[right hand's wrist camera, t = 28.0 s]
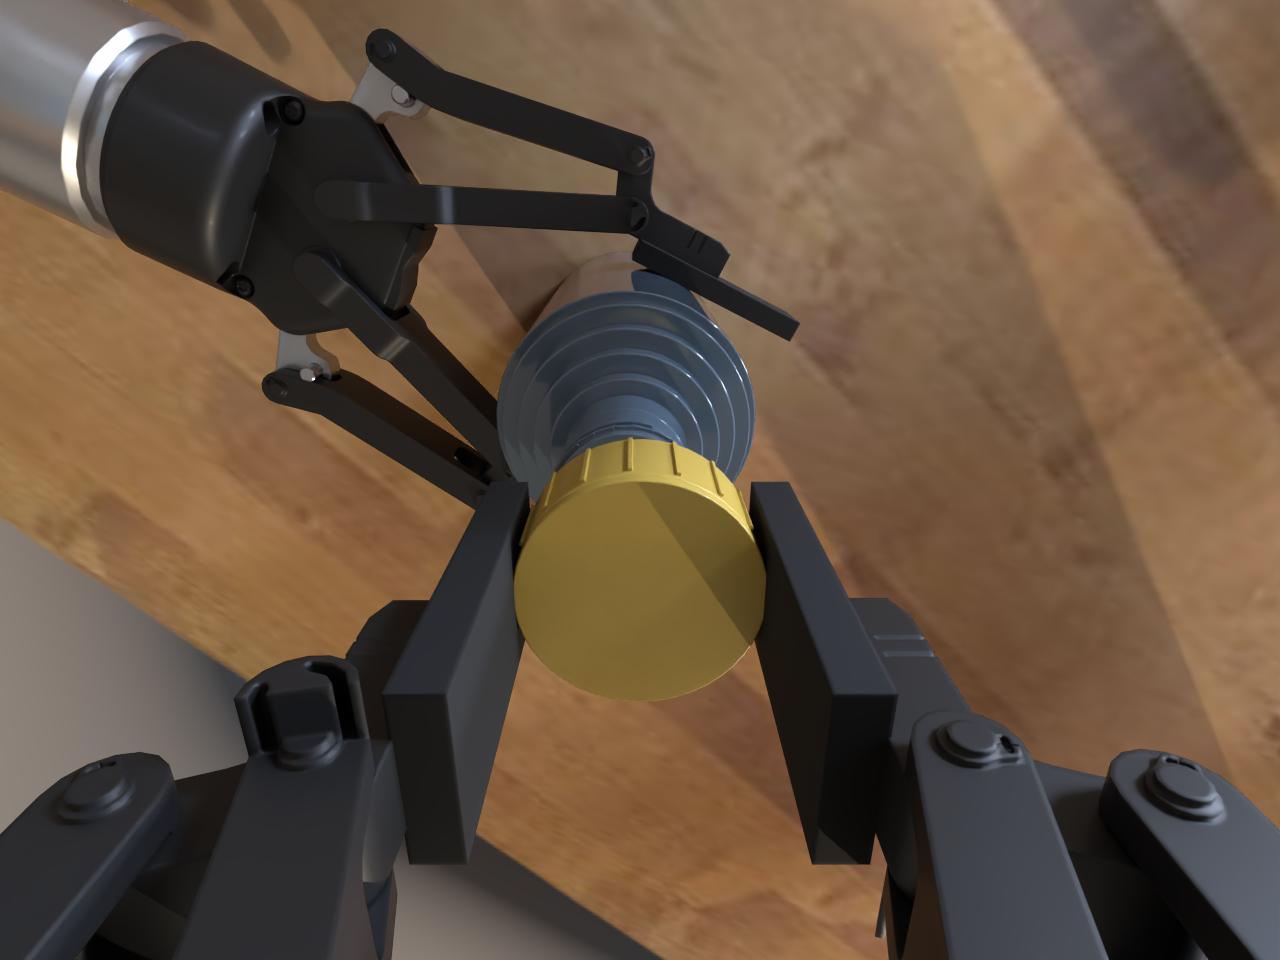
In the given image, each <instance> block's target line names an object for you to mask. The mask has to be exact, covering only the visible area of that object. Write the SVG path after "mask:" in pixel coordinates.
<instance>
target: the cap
mask: <svg viewBox="0 0 1280 960" xmlns="http://www.w3.org/2000/svg"><path fill="white" fill-rule="evenodd" d="M753 529H754V527H753V524H752V522H751V519H750V516H749V513H748V510H747V508H746V505H745V502H744V499H743V496H742V493H741V491H740V490H738V491H737V490H736V489H735V487H734V486H733V484H732V483H731V482H730V480H729V479H728V478H727V477H726V476H725V474H724V473H723V472H721V471H720V470H719V469H718V468H717V467H716V465H715V462H714V461H712V460H711V461H708V460H707V459H705V458H704V457H703V456H701V455H699V454H697V453H695V452H693V451H691V450H689V449H687V448H684V447H681V446H679V445H677V443H676V442H672V443H668V442H664V441H659V440H649V439H633V437H630V438H628V440H622V441H615V442H611V443H608V444H604V445H600V446H598V447H595V448H593V449H590V448H588V449H586V452H584V453H582V454H581V455H579V456H577V457H576V458H574V459H572V460H571V461H570V462H569V463H567V464H566V465H565V466H563V467H562V468H561V469H560V470H559V471H558V472H557V473H556V472H553V473H552V476H551V479H550V481H549V482H548V484H547V485H546V486H545V488H544V489H543V491H542V493H541V495H540V496H539V498H538V500H537V502H536V505H532V507H531V509H530V512H529V515H528V518H527V521H526V524H525V527H524V530H523V533H522V536H521V539H520V542H519V546H522V547H521V550H520V553H519V557H518V560H517V563H516V566H515V571H514V577H513V584H514V599H515V611H516V618H517V622H518V624H519V627H520V629H521V632H522V634H523V636H524V638H525V639H526V641H527V643H528V644H529V646H530V648H531V649H532V650H533V652H534V653H535V654H536V655H537V657H538V658H539V659H540V660H541V661H542V662H543V663H544V664H545V665H546V666H547V667H548V668H549V669H550V670H551V671H552V672H554V673H555V674H556V675H558V676H559V677H560V678H562V679H563V680H565V681H567V682H568V683H570V684H572V685H574V686H575V687H577V688H580V689H582V690H584V691H587V692H589V693H592V694H595V695H598V696H602V697H605V698H610V699H615V700H622V701H634V702H641V701H657V700H664V699H670V698H674V697H678V696H682V695H685V694H687V693H690V692H693V691H696V690H698V689H700V688H702V687H704V686H706V685H708V684H710V683H711V682H713V681H714V680H716V679H718V678H719V677H721V676H722V675H723V674H725V673H726V672H727V671H728V670H729V669H731V668H732V667H733V666H734V665H735V664H736V663H737V662H738V661H739V660H740V659H741V658H742V657H743V655H744V654H745V653H746V651H747V650H748V649H749V647H750V646H751V644H752V643H753V641H754V639H755V637H756V635H757V634H758V632H759V630H760V627H761V624H762V621H763V614H764V601H765V588H766V569H765V565H764V561H763V558H762V555H761V552H760V549H759V546H758V543H757V541H756V538H755V535H754V532H753Z"/></svg>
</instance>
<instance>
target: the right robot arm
mask: <svg viewBox="0 0 1280 960" xmlns="http://www.w3.org/2000/svg"><path fill="white" fill-rule="evenodd" d="M529 512H530V501H529V485H528V482H490V484H489V486H488V488H487V490H486V492H485V494H484V496H483V498H482V500H481V502H480V504H479V506H478V508H477V510H476V511H475V513H474V515H473V517H472V519H471V521H470V523H469V525H468V527H467V529H466V531H465V533H464V535H463V537H462V539H461V540H460V542H459V544H458V546H457V548H456V550H455V552H454V554H453V556H452V558H451V560H450V562H449V564H448V566H447V568H446V569H445V571H444V573H443V575H442V577H441V579H440V581H439V583H438V585H437V587H436V589H435V591H434V593H433V595H432V597H431V598H430V600H393V601H391V602H390V603H389V604H387V605H386V606H385V607H383V608H382V609H380V610H379V611H378V612H376V613H375V614H374V615H372V616H371V617H370V618H369V619H368V621H367V622H366V624H365V625H364V627H363V628H362V630H361V632H360V633H359V635H358V636H357V638H356V639H357V640H356V642H354V643H353V644H352V646H351V647H350V649H349V650H348V652H347V653H346V658H345V659H342V658H338V657H334V656H330V655H328V656H306V657H302V658H297V659H293V660H288V661H285V662H282V663H280V664H278V665H276V666H273V667H271V668H269V669H266V670H264V671H262V672H261V673H260V674H258V675H257V676H255V677H254V678H253V679H251V680H250V681H248V682H247V683H246V684H245V685H244V686H243V687H242V688H241V690H240V691H239V692H238V694H237V695H236V696H235V698H234V702H235V706H236V709H237V713H238V717H239V721H240V725H241V728H242V732H243V736H244V740H245V744H246V747H247V751H248V755H249V758H248V760H247V762H246V763H243V764H240V765H237V766H233V767H230V768H227V769H223V770H218V771H214V772H210V773H205V774H201V775H197V776H192V777H188V778H183V779H179V780H175V781H174V778H173V775H172V772H171V769H170V766H169V764H168V763H167V762H166V761H164V760H163V759H162V758H161V757H160V756H159V755H154V754H148V753H143V752H136V753H128V754H120V755H114V756H111V757H108V758H105V759H102V760H99V761H96V762H93V763H90V764H87V765H86V766H84V767H82V768H80V769H78V770H76V771H74V772H72V773H70V774H69V775H67V776H65V777H63V778H61V779H60V780H59V781H57V782H56V783H55V784H54V785H52V786H51V787H50V788H49V789H47V790H46V791H45V792H44V793H42V794H41V795H40V796H39V797H38V798H37V799H36V800H35V801H34V802H33V803H32V804H31V805H29V806H28V807H27V808H26V809H25V810H24V811H23V812H22V813H21V814H20V815H19V816H18V817H17V818H16V819H15V820H14V821H13V822H12V823H11V824H10V825H9V826H8V827H7V828H6V829H5V830H4V831H3V832H2V833H1V834H0V960H391V958H392V947H393V936H394V926H395V915H396V904H397V889H396V882H395V876H394V870H393V864H394V862H395V859H396V856H397V853H398V851H399V848H400V845H401V843H402V840H403V837H404V835H405V841H406V847H407V853H408V859H409V864H468V860H469V857H470V853H471V849H472V845H473V841H474V837H475V833H476V829H477V825H478V822H479V818H480V814H481V810H482V806H483V802H484V798H485V794H486V790H487V786H488V783H489V779H490V775H491V771H492V767H493V763H494V759H495V755H496V751H497V747H498V744H499V740H500V736H501V732H502V728H503V724H504V720H505V716H506V712H507V708H508V705H509V701H510V697H511V693H512V689H513V685H514V681H515V677H516V673H517V670H518V666H519V662H520V658H521V654H522V650H523V646H524V642H525V638H524V636H523V634H522V632H521V629H520V627H519V624H518V622H517V618H516V611H515V599H514V584H513V577H514V571H515V566H516V563H517V560H518V557H519V553H520V550H521V547H522V546H519V542H520V539H521V536H522V533H523V530H524V527H525V524H526V521H527V518H528V515H529ZM749 516H750V519H751V522H752V524H753V527H754V529H753V532H754V535H755V538H756V541H757V543H758V546H759V549H760V552H761V555H762V558H763V561H764V565H765V569H766V588H765V601H764V614H763V621H762V624H761V627H760V630H759V632H758V634H757V635H756V637H755V639H754V640H755V644H756V648H757V652H758V656H759V660H760V664H761V667H762V671H763V675H764V679H765V683H766V687H767V691H768V695H769V699H770V703H771V706H772V710H773V714H774V718H775V722H776V726H777V730H778V734H779V738H780V742H781V745H782V749H783V753H784V757H785V761H786V765H787V769H788V773H789V777H790V780H791V784H792V788H793V792H794V796H795V800H796V804H797V808H798V812H799V816H800V819H801V823H802V827H803V831H804V835H805V839H806V843H807V847H808V851H809V855H810V858H811V862H812V864H870V862H871V856H872V850H873V844H874V838H875V832H876V835H877V838H878V840H879V843H880V846H881V849H882V851H883V854H884V857H885V859H886V862H887V870H886V876H885V881H884V887H883V892H882V898H881V903H880V909H879V915H878V920H877V927H876V934H875V937H879V938H884V937H885V932H886V935H887V945H888V956H889V960H1207V959H1206V957H1207V958H1208V959H1209V960H1280V830H1279V829H1278V828H1277V827H1276V826H1275V825H1274V824H1273V823H1272V822H1271V821H1270V820H1269V819H1268V818H1267V817H1266V816H1265V815H1264V814H1263V813H1262V812H1261V811H1260V810H1259V809H1258V808H1257V807H1256V806H1255V805H1254V804H1252V803H1251V802H1250V801H1249V800H1248V799H1247V798H1246V797H1245V796H1244V795H1243V794H1242V793H1241V792H1240V791H1239V790H1237V789H1236V788H1235V787H1234V786H1232V785H1231V784H1230V783H1228V782H1227V781H1226V780H1225V779H1223V778H1222V777H1221V776H1220V775H1218V774H1216V773H1214V772H1212V771H1210V770H1208V769H1206V768H1205V767H1203V766H1201V765H1199V764H1197V763H1195V762H1193V761H1191V760H1188V759H1185V758H1182V757H1179V756H1176V755H1173V754H1169V753H1166V752H1161V751H1153V750H1144V749H1138V750H1132V751H1126V752H1121V753H1120V754H1119V755H1118V756H1117V757H1116V758H1115V759H1114V760H1112V761H1111V764H1110V767H1109V770H1108V773H1107V776H1106V778H1105V777H1101V776H1096V775H1092V774H1088V773H1083V772H1079V771H1074V770H1070V769H1066V768H1061V767H1057V766H1053V765H1049V764H1046V763H1043V762H1039V761H1036V760H1033V759H1032V757H1031V755H1030V753H1029V752H1028V750H1027V749H1026V747H1025V746H1024V744H1023V743H1022V741H1021V740H1020V739H1019V738H1018V737H1017V736H1015V735H1014V734H1013V733H1012V732H1010V731H1009V730H1008V729H1007V728H1005V727H1004V726H1003V725H1001V724H999V723H997V722H994V721H992V720H990V719H988V718H986V717H984V716H982V715H978V714H974V713H973V712H972V710H971V709H970V707H969V706H968V704H967V703H966V701H965V699H964V698H963V696H962V695H961V693H960V692H959V690H958V689H957V687H956V685H955V684H954V682H953V681H952V679H951V678H950V676H949V675H948V673H947V671H946V670H945V668H944V667H943V665H942V664H941V662H940V661H939V659H938V657H935V656H934V651H933V650H932V648H931V647H930V645H929V643H928V642H927V640H924V638H923V634H922V633H921V631H920V629H919V628H918V626H917V625H916V623H915V622H914V620H913V619H912V617H911V615H909V614H908V613H906V612H905V611H904V610H902V609H901V608H900V607H898V606H897V605H896V604H894V603H893V602H891V601H890V600H889V599H887V598H848V596H847V594H846V592H845V590H844V588H843V586H842V584H841V582H840V580H839V578H838V576H837V574H836V572H835V570H834V569H833V567H832V565H831V563H830V561H829V559H828V557H827V555H826V553H825V551H824V549H823V547H822V545H821V543H820V541H819V540H818V538H817V536H816V534H815V532H814V530H813V528H812V526H811V524H810V522H809V520H808V518H807V516H806V514H805V512H804V511H803V509H802V507H801V505H800V503H799V501H798V499H797V497H796V495H795V493H794V491H793V489H792V487H791V485H790V483H789V482H751V493H750V509H749ZM1204 954H1205V955H1206V957H1205V956H1204ZM76 957H77V958H76Z"/></svg>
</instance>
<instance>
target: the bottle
mask: <svg viewBox="0 0 1280 960" xmlns="http://www.w3.org/2000/svg"><path fill="white" fill-rule="evenodd" d="M632 253H633V252H617V253H610V254H606V255H602V256H599V257H597V258H594V259H592V260H590V261H588V262H586V263H584V264H583V265H581V266H580V267H578V268H577V269H576V270H574V271H573V272H572V273H571V274H570V275H569V276H568V277H567V278H566V279H565V280H564V281H563V282H562V284H561V285H560V286H559V288H558V289H557V290H556V292H555V293H554V295H553V296H552V298H551V299H550V301H549V302H548V303H547V305H546V306H545V308H544V309H543V311H542V312H541V313H540V315H539V316H538V318H537V319H536V321H535V322H534V324H533V325H532V326H531V328H530V329H529V331H528V332H527V334H526V335H525V337H524V338H523V339H522V341H521V342H520V344H519V345H518V347H517V348H516V350H515V352H514V353H513V355H512V357H511V359H510V360H509V362H508V364H507V367H506V370H505V372H504V375H503V377H502V381H501V385H500V389H499V393H498V401H497V429H498V434H499V440H500V444H501V447H502V451H503V454H504V457H505V459H506V461H507V464H508V466H509V468H510V470H511V472H512V474H513V475H514V477H515V478H516V480H517V481H518V482H528V485H529V497H530V498H531V499H532V500H533V501H534V502H535V503H536V502H537V500H538V498H539V496H540V495H541V493H542V491H543V489H544V488H545V486H546V485H547V484H548V482H549V481H550V479H551V476H552V473H553V472H556V473H557V472H558V471H559V470H560V469H561V468H562V467H563V466H565V465H566V464H567V463H569V462H570V461H571V460H572V459H574V458H576V457H577V456H579V455H581V454H582V453H584V452H586V449H588V448H590V449H593V448H595V447H598V446H600V445H604V444H608V443H611V442H615V441H622V440H628V438H630V437H633V439H649V440H659V441H664V442H668V443H672V442H676V443H677V445H679V446H681V447H684V448H687V449H689V450H691V451H693V452H695V453H697V454H699V455H701V456H703V457H704V458H705V459H707V460H708V461H711V460H712V461H714V462H715V465H716V467H717V468H718V469H719V470H720V471H721V472H723V473H724V474H725V476H726V477H727V478H728V479H729V480H730V482H731V483H732V484H733V483H734V482H735V481H736V479H737V477H738V476H739V474H740V472H741V470H742V468H743V466H744V465H745V462H746V459H747V457H748V454H749V452H750V448H751V444H752V440H753V436H754V427H755V401H754V395H753V389H752V385H751V382H750V378H749V375H748V372H747V370H746V367H745V365H744V363H743V361H742V359H741V357H740V355H739V354H738V352H737V351H736V349H735V348H734V346H733V345H732V343H731V342H730V340H729V339H728V337H727V336H726V334H725V333H724V331H723V330H722V328H721V327H720V325H719V324H718V322H717V321H716V319H715V318H714V316H713V315H712V313H711V312H710V310H709V309H708V307H707V306H706V304H705V303H704V301H703V300H702V298H701V297H700V295H698V294H697V293H695V292H693V291H691V290H689V289H687V288H685V287H683V286H681V285H679V284H678V283H676V282H673V281H671V280H669V279H667V278H666V277H664V276H662V275H660V274H658V273H656V272H654V271H652V270H650V269H648V268H646V267H644V266H642V265H640V264H638V263H636V262H635V261H633V260H632Z"/></svg>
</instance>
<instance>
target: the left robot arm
mask: <svg viewBox="0 0 1280 960" xmlns="http://www.w3.org/2000/svg"><path fill="white" fill-rule="evenodd" d="M366 54H367V56H368V59H369V61H370V64H369V66H368V68H367V70H366V72H365V74H364V75H363V77H362V79H361V81H360V83H359V85H358V87H357V89H356V91H355V92H354V94H353V96H352V98H351V100H350V102H347V101H329V102H328V101H319V100H317V99H315V98H313V97H311V96H309V95H307V94H305V93H303V92H301V91H299V90H297V89H295V88H293V87H291V86H289V85H287V84H285V83H283V82H281V81H279V80H277V79H276V78H274V77H272V76H270V75H268V74H266V73H264V72H262V71H260V70H258V69H256V68H254V67H252V66H250V65H248V64H246V63H244V62H243V61H241V60H239V59H237V58H235V57H233V56H231V55H229V54H227V53H225V52H223V51H221V50H219V49H217V48H215V47H213V46H211V45H209V44H207V43H204V42H199V41H190V40H189V39H188V38H187V37H186V36H185V35H184V34H183V33H182V32H181V31H180V30H179V29H178V28H177V27H175V26H173V25H171V24H169V23H167V22H165V21H163V20H161V19H159V18H157V17H155V16H153V15H151V14H149V13H147V12H146V11H144V10H142V9H140V8H138V7H136V6H134V5H132V4H130V3H128V2H126V1H124V0H0V189H1V190H3V191H5V192H7V193H9V194H12V195H14V196H16V197H18V198H20V199H22V200H24V201H27V202H29V203H31V204H33V205H35V206H37V207H39V208H42V209H44V210H46V211H48V212H50V213H52V214H54V215H57V216H59V217H61V218H63V219H65V220H67V221H69V222H72V223H74V224H76V225H78V226H80V227H82V228H84V229H87V230H89V231H91V232H93V233H95V234H98V235H100V236H103V237H105V238H108V239H121V241H122V242H123V243H124V244H125V245H127V246H128V247H129V248H131V249H132V250H134V251H136V252H138V253H140V254H142V255H144V256H147V257H149V258H151V259H153V260H155V261H158V262H160V263H162V264H164V265H166V266H169V267H171V268H173V269H175V270H177V271H180V272H182V273H184V274H186V275H188V276H191V277H193V278H195V279H197V280H199V281H201V282H204V283H206V284H208V285H210V286H212V287H215V288H217V289H219V290H221V291H224V292H226V293H229V294H231V295H234V296H237V297H239V298H242V299H244V300H246V301H248V302H250V303H252V304H253V305H254V306H256V307H257V308H258V309H259V310H260V311H261V312H262V313H263V314H264V315H265V316H266V317H267V318H268V319H269V321H270V322H271V323H272V324H273V325H274V326H276V327H277V328H278V329H280V333H279V343H278V353H277V363H276V370H275V371H274V372H272V373H270V374H268V375H267V376H266V377H265V378H263V381H262V390H263V392H264V394H265V396H266V397H267V398H268V399H269V400H271V401H273V402H275V403H278V404H282V405H286V406H290V407H293V408H297V409H301V410H305V411H309V412H313V413H316V414H320V415H322V416H324V417H325V418H327V419H329V420H330V421H332V422H334V423H335V424H337V425H338V426H340V427H342V428H343V429H345V430H346V431H348V432H350V433H351V434H353V435H355V436H356V437H358V438H359V439H361V440H363V441H364V442H366V443H368V444H369V445H371V446H372V447H374V448H376V449H377V450H379V451H381V452H382V453H384V454H385V455H387V456H389V457H390V458H392V459H394V460H395V461H397V462H398V463H400V464H402V465H403V466H405V467H406V468H408V469H410V470H411V471H413V472H415V473H416V474H418V475H419V476H421V477H423V478H424V479H426V480H428V481H429V482H431V483H432V484H434V485H436V486H437V487H439V488H441V489H442V490H444V491H445V492H447V493H449V494H450V495H452V496H453V497H455V498H457V499H458V500H460V501H462V502H463V503H465V504H466V505H468V506H470V507H471V508H473V509H475V510H477V508H478V506H479V504H480V502H481V500H482V498H483V496H484V494H485V492H486V490H487V488H488V486H489V484H490V482H518V481H517V480H516V478H515V477H514V475H513V474H512V472H511V470H510V468H509V466H508V464H507V461H506V459H505V457H504V454H503V451H502V447H501V444H500V440H499V434H498V429H497V400H496V399H495V398H494V397H493V396H492V395H491V394H490V393H489V392H488V391H487V390H486V389H485V388H484V387H483V386H482V385H481V384H480V383H479V382H478V381H477V380H476V378H475V377H474V376H473V375H472V374H471V373H470V372H469V371H468V370H467V369H466V368H465V367H464V366H463V365H462V364H461V363H460V362H459V361H458V360H457V359H456V358H455V357H454V355H453V354H452V353H451V352H450V351H449V350H448V349H447V348H446V347H445V346H444V345H443V344H442V343H441V342H440V341H439V340H438V339H437V338H436V337H435V336H434V335H433V334H432V332H431V331H430V330H429V329H428V327H427V325H426V322H425V321H424V319H423V318H422V317H421V315H420V314H419V313H418V312H417V311H416V310H415V309H414V308H413V307H412V306H411V305H410V304H409V303H410V302H411V299H412V297H413V294H414V291H415V288H416V286H417V277H418V265H419V262H420V261H421V259H422V258H423V257H424V255H425V254H426V253H427V251H428V250H429V249H430V247H431V245H432V242H433V240H434V237H435V234H436V231H437V229H438V228H437V227H435V226H434V224H460V225H478V226H496V227H514V228H532V229H550V230H568V231H586V232H604V233H623V234H630V235H632V236H634V237H636V238H638V239H639V240H638V242H637V244H636V246H635V248H634V250H633V253H632V260H633V261H635V262H636V263H638V264H640V265H642V266H644V267H646V268H648V269H650V270H652V271H654V272H656V273H658V274H660V275H662V276H664V277H666V278H667V279H669V280H671V281H673V282H676V283H678V284H679V285H681V286H683V287H685V288H687V289H689V290H691V291H693V292H695V293H697V294H698V295H700V296H702V297H704V298H706V299H708V300H710V301H712V302H714V303H716V304H718V305H720V306H722V307H724V308H726V309H727V310H729V311H731V312H733V313H735V314H737V315H739V316H741V317H743V318H745V319H747V320H749V321H751V322H753V323H755V324H757V325H758V326H760V327H762V328H764V329H766V330H768V331H770V332H772V333H774V334H776V335H778V336H780V337H782V338H784V339H786V340H788V341H789V342H790V340H791V338H792V337H793V335H794V333H795V332H796V330H797V328H798V326H799V325H800V323H799V322H798V321H797V320H795V319H794V318H793V317H792V316H790V315H789V314H788V313H787V312H785V311H783V310H781V309H780V308H778V307H776V306H774V305H772V304H770V303H768V302H766V301H764V300H762V299H760V298H759V297H757V296H755V295H753V294H751V293H749V292H747V291H745V290H743V289H741V288H740V287H738V286H736V285H734V284H732V283H730V282H728V281H726V280H724V279H722V278H720V277H719V275H720V273H721V271H722V269H723V267H724V266H725V264H726V262H727V260H728V258H729V256H730V254H729V252H728V251H727V250H726V249H725V247H724V246H723V245H722V244H721V243H720V242H719V241H717V240H715V239H713V238H711V237H710V236H708V235H706V234H704V233H702V232H700V231H698V230H696V229H695V228H693V227H691V226H689V225H687V224H685V223H683V222H681V221H680V220H678V219H676V218H674V217H672V216H670V215H668V214H666V213H665V212H663V211H661V210H660V209H659V208H658V207H657V206H656V205H655V203H654V201H653V199H652V194H651V186H652V177H653V167H654V159H655V152H654V148H653V146H652V145H651V143H650V142H649V141H648V140H647V139H645V138H643V137H641V136H638V135H635V134H632V133H629V132H626V131H623V130H620V129H617V128H614V127H611V126H608V125H605V124H602V123H599V122H596V121H593V120H590V119H587V118H584V117H581V116H578V115H575V114H572V113H569V112H566V111H563V110H560V109H557V108H554V107H551V106H548V105H545V104H542V103H539V102H536V101H534V100H531V99H528V98H525V97H522V96H519V95H516V94H513V93H510V92H507V91H504V90H501V89H498V88H495V87H492V86H489V85H486V84H483V83H480V82H477V81H474V80H471V79H468V78H465V77H462V76H459V75H456V74H453V73H450V72H447V71H445V70H444V69H442V68H441V67H440V66H439V65H437V64H436V63H435V62H433V61H432V60H431V59H430V58H428V57H427V56H426V55H425V54H423V53H422V52H421V51H420V50H418V49H417V48H416V47H414V46H413V45H411V44H410V43H408V42H407V41H405V40H404V39H402V38H401V37H399V36H398V35H396V34H395V33H393V32H391V31H389V30H388V29H377V30H375V31H372V33H371V34H370V35H369V36H368V38H367V42H366ZM431 107H432V108H434V109H437V110H439V111H441V112H444V113H446V114H449V115H451V116H454V117H456V118H459V119H461V120H464V121H467V122H470V123H473V124H476V125H479V126H482V127H485V128H488V129H491V130H494V131H497V132H500V133H503V134H507V135H510V136H513V137H516V138H519V139H522V140H525V141H528V142H531V143H534V144H537V145H540V146H543V147H546V148H549V149H552V150H555V151H558V152H561V153H564V154H567V155H571V156H574V157H577V158H580V159H583V160H586V161H589V162H592V163H595V164H598V165H601V166H604V167H607V168H610V169H613V170H616V171H618V179H617V190H616V196H614V195H597V194H579V193H562V192H544V191H526V190H509V189H491V188H474V187H458V186H441V185H423V184H419V182H418V181H417V179H416V177H415V176H414V174H413V172H412V170H411V169H410V167H409V165H408V164H407V162H406V160H405V159H404V157H403V155H402V154H401V152H400V150H399V149H398V147H397V145H396V144H395V142H394V140H393V139H392V137H391V135H390V133H389V132H388V130H387V128H386V127H385V125H384V122H385V121H386V120H387V118H389V117H390V116H392V115H396V114H400V115H402V116H405V117H408V118H411V119H420V118H423V117H424V116H426V115H427V113H428V112H429V110H430V109H431ZM343 328H348V329H349V330H350V331H351V332H352V333H353V334H354V335H355V336H356V337H357V338H358V339H359V340H360V341H361V342H362V343H363V344H364V345H365V346H366V347H367V348H368V349H369V350H370V351H371V352H373V353H374V354H375V355H376V356H378V357H379V358H381V359H384V360H387V361H388V362H390V363H391V364H392V365H393V366H394V367H395V368H396V369H397V370H398V371H399V372H400V373H401V374H402V375H403V376H404V377H405V378H406V379H407V380H408V381H409V382H410V383H411V384H412V385H413V386H414V387H415V388H416V389H417V390H418V391H419V392H420V393H421V394H422V395H423V396H424V397H425V398H426V399H427V400H428V401H429V402H430V403H431V404H432V405H433V406H434V407H435V408H436V409H437V410H438V411H439V412H440V413H441V414H442V415H443V416H444V417H445V418H446V419H447V420H448V421H449V422H450V423H451V424H452V425H453V426H454V427H455V429H456V430H457V431H458V432H459V433H460V434H461V435H462V436H463V437H464V438H465V439H466V440H467V441H468V442H469V443H470V444H471V445H472V446H473V447H474V448H475V449H476V450H477V451H476V450H475V449H473V448H472V447H470V446H468V445H467V444H465V443H464V442H462V441H461V440H459V439H458V438H456V437H454V436H453V435H451V434H450V433H448V432H447V431H445V430H443V429H442V428H440V427H439V426H437V425H436V424H434V423H433V422H431V421H429V420H428V419H426V418H425V417H423V416H422V415H420V414H418V413H417V412H415V411H414V410H412V409H411V408H409V407H408V406H406V405H404V404H403V403H401V402H400V401H398V400H397V399H395V398H393V397H392V396H390V395H389V394H387V393H386V392H384V391H383V390H381V389H379V388H378V387H376V386H375V385H373V384H372V383H370V382H368V381H367V380H365V379H363V378H361V377H360V376H358V375H356V374H353V373H351V372H349V371H346V370H343V369H340V365H339V360H338V358H337V357H336V356H335V355H333V354H332V353H330V352H328V351H326V350H325V349H323V348H322V347H321V346H320V345H319V343H318V341H317V338H316V333H320V332H326V331H332V330H338V329H343Z"/></svg>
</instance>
